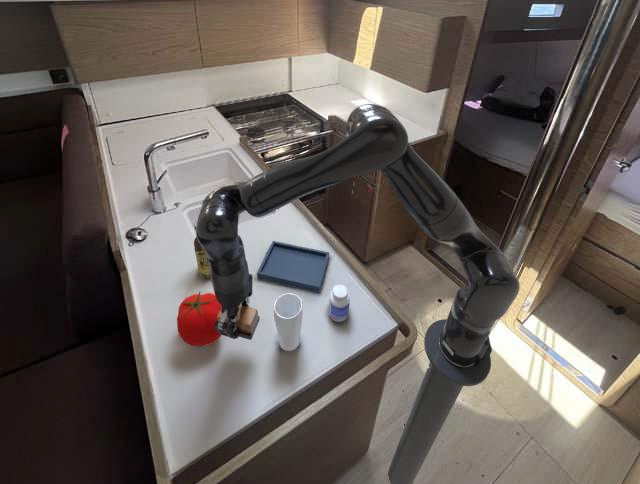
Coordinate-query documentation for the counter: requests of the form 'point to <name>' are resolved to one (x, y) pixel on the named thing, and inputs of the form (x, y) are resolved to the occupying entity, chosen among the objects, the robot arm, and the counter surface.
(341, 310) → the pill bottle
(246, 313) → the eraser
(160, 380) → the counter surface
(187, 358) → the counter surface
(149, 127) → the counter surface
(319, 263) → the tray
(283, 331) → the drinking glass
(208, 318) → the tomato
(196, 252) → the sauce bottle
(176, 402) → the counter surface
